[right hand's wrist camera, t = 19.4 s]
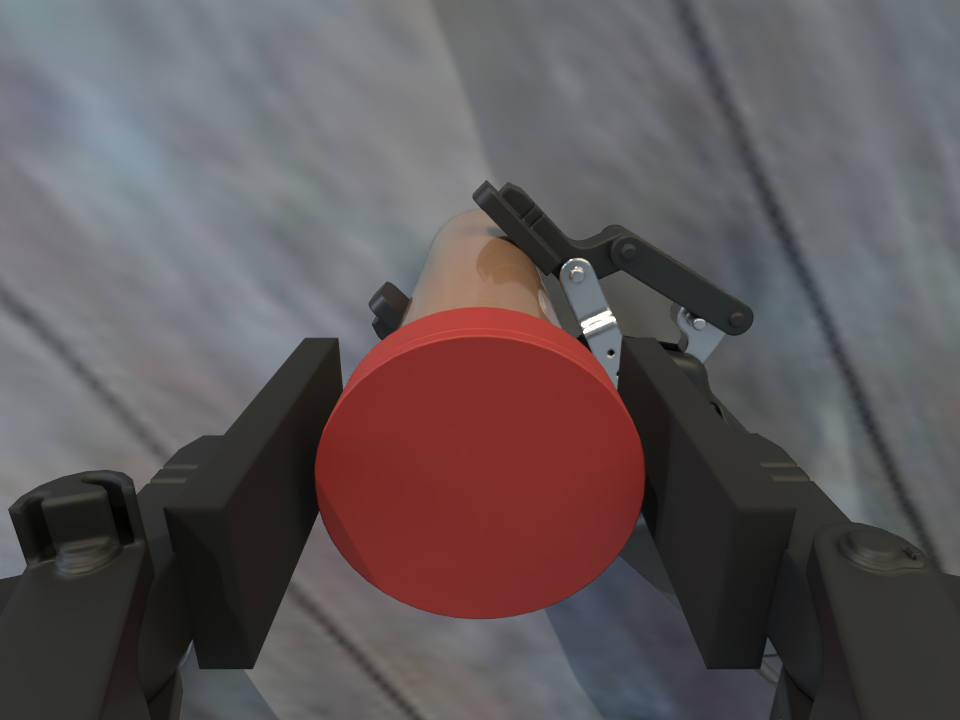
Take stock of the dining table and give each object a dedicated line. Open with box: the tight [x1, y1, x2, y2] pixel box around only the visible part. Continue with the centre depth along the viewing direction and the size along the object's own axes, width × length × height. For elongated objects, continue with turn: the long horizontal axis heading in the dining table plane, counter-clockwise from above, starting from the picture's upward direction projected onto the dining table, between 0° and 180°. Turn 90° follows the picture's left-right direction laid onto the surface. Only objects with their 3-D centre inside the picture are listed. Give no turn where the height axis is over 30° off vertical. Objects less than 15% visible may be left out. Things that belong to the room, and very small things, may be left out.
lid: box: [315, 307, 646, 619], centre depth 11 cm, size 6×6×2 cm
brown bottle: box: [397, 210, 563, 330], centre depth 19 cm, size 5×5×18 cm
